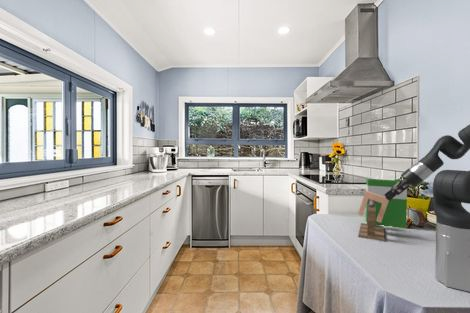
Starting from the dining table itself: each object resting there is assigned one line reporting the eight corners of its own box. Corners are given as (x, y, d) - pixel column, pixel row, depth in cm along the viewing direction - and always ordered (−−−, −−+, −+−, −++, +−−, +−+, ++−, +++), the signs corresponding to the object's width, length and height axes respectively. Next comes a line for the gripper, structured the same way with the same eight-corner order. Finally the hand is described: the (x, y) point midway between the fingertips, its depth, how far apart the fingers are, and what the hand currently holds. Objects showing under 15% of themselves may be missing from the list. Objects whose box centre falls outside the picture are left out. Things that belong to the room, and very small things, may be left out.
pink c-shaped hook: (381, 222, 109) (389, 199, 107) (357, 214, 114) (365, 191, 113) (381, 221, 112) (389, 198, 110) (358, 213, 117) (366, 190, 115)
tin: (425, 228, 120) (426, 212, 120) (419, 228, 121) (419, 212, 121) (410, 220, 135) (410, 206, 135) (404, 220, 136) (404, 205, 135)
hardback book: (402, 224, 126) (403, 180, 126) (406, 228, 120) (407, 182, 119) (365, 220, 134) (366, 178, 133) (366, 223, 127) (367, 180, 127)
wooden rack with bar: (384, 241, 101) (385, 204, 101) (358, 236, 106) (359, 202, 106) (383, 228, 119) (383, 197, 119) (360, 225, 124) (361, 195, 124)
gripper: (427, 181, 96) (394, 206, 102) (421, 179, 109) (392, 201, 114) (411, 168, 99) (380, 193, 105) (407, 167, 111) (379, 190, 117)
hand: (386, 197), depth 110 cm, fingers open, 8 cm apart
